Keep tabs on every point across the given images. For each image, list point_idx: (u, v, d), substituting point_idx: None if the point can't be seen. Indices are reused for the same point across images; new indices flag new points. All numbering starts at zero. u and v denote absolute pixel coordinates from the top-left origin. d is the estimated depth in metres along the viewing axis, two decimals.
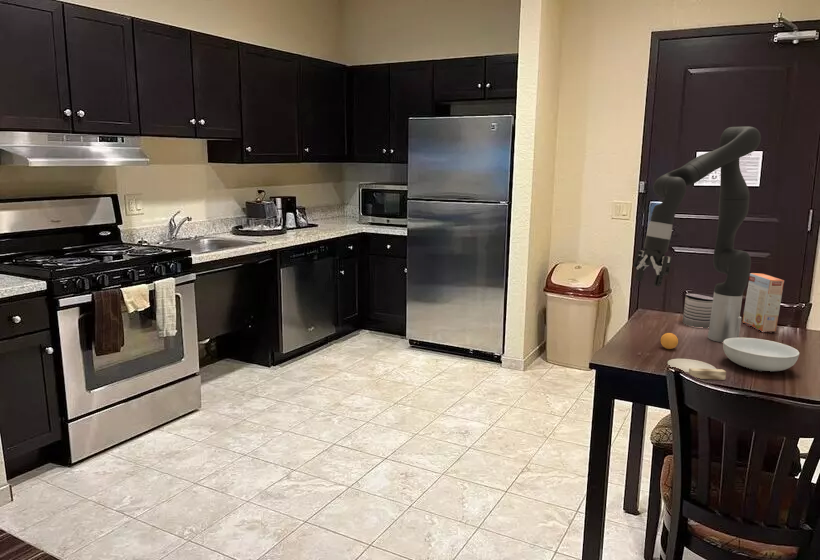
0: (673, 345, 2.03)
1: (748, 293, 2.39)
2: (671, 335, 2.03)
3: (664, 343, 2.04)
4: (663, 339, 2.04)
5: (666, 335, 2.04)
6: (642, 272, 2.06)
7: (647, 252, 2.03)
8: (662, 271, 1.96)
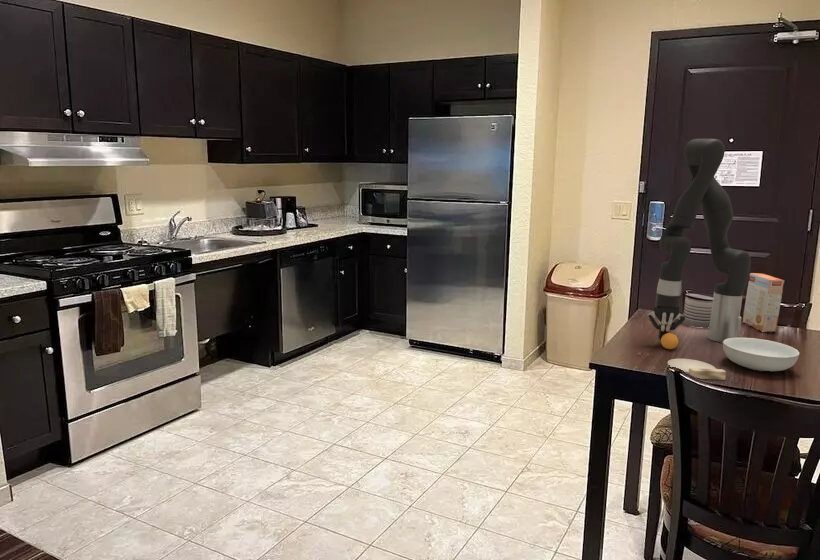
0: (673, 345, 2.02)
1: (748, 293, 2.39)
2: (671, 335, 2.03)
3: (664, 344, 2.03)
4: (663, 339, 2.04)
5: (666, 335, 2.04)
6: None
7: (661, 309, 2.06)
8: (673, 327, 2.06)
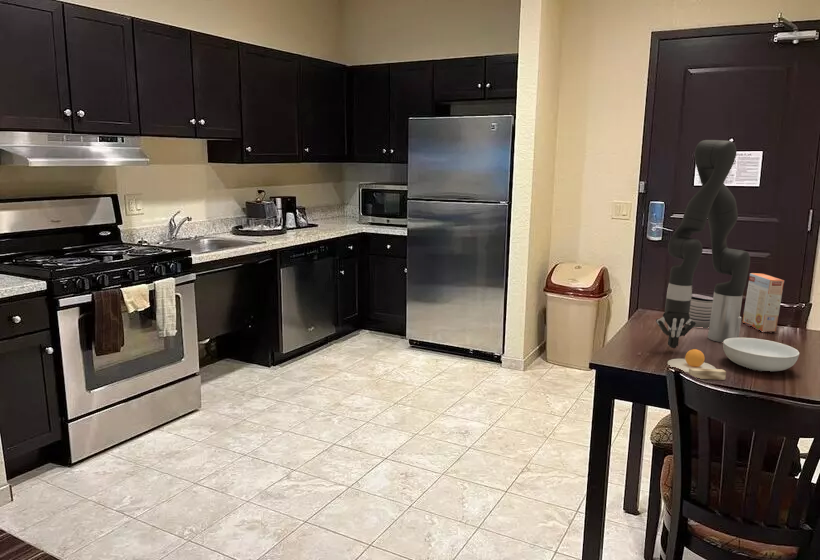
0: (700, 360, 1.85)
1: (748, 293, 2.39)
2: (696, 350, 1.87)
3: (690, 360, 1.86)
4: (688, 355, 1.87)
5: (690, 351, 1.87)
6: None
7: (671, 315, 1.99)
8: (683, 333, 2.00)
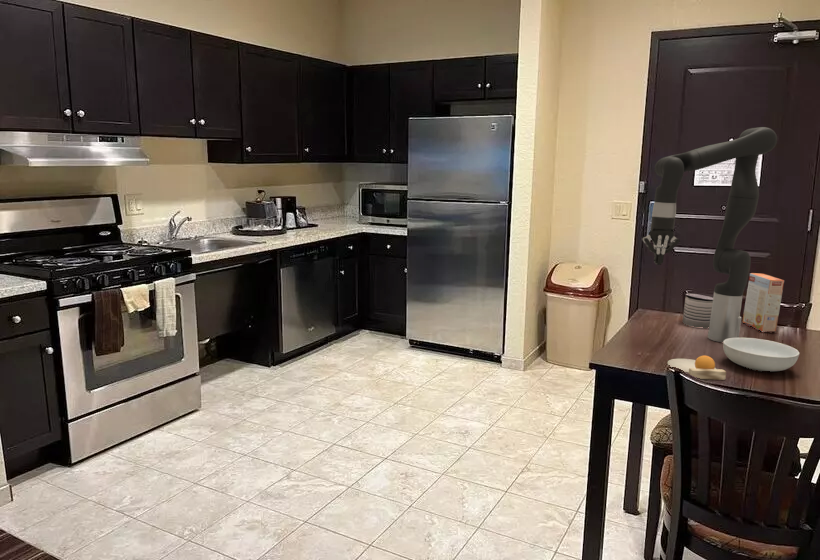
0: None
1: (748, 293, 2.39)
2: None
3: (695, 366, 1.83)
4: (697, 368, 1.81)
5: None
6: None
7: (657, 232, 2.09)
8: (668, 250, 2.10)
